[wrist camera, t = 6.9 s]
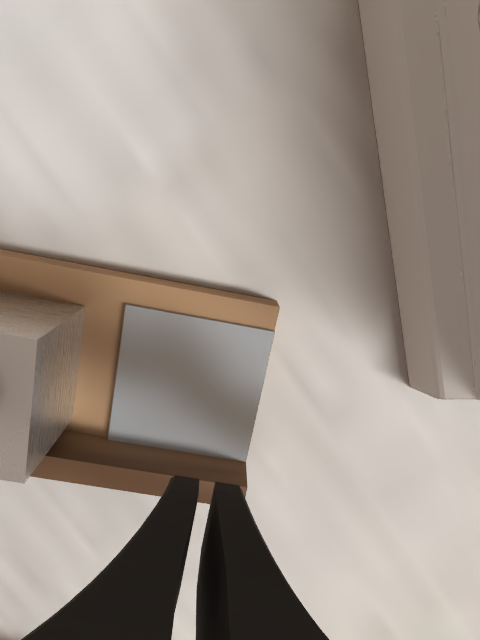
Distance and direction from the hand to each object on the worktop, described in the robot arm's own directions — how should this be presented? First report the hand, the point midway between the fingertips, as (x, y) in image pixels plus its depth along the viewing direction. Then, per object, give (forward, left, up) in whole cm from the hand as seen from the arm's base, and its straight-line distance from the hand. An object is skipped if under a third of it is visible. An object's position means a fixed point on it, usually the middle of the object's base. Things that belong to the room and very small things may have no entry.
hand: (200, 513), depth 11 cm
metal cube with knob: (0, +8, -8) cm, 11 cm away
